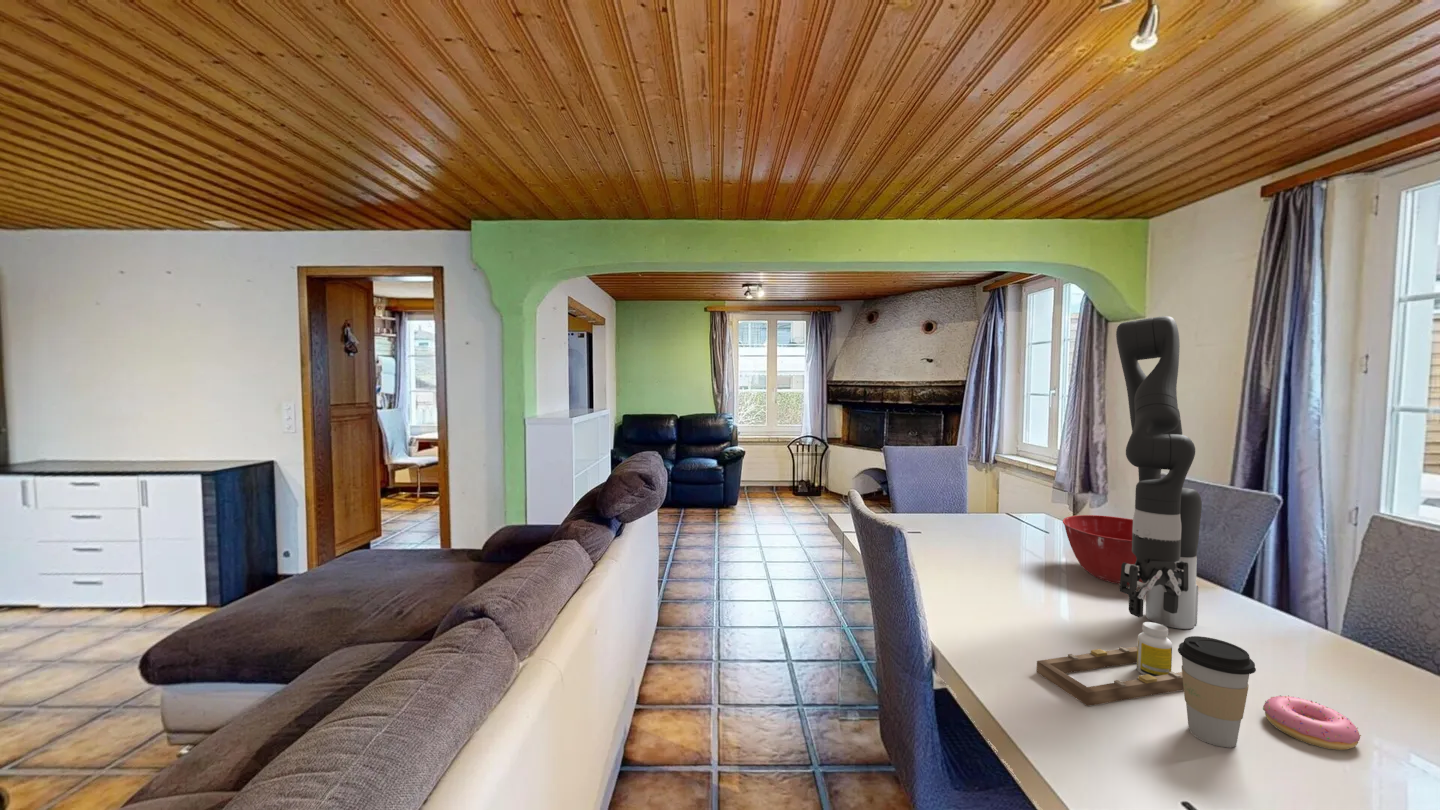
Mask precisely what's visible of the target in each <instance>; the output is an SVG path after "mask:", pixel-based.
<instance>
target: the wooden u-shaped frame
mask: <svg viewBox="0 0 1440 810" xmlns="http://www.w3.org/2000/svg"><path fill="white" fill-rule="evenodd" d="M1131 664H1137V646H1130V647H1123V646H1119V647H1118V648H1117V649H1112V650H1103V649H1101V648H1097V649H1090V653H1083V654H1076V655H1075V654H1072V653H1069V654H1067V656H1062V657H1054V658H1047V659H1046V658H1045V659H1040V660H1036V674H1038V675H1039V676H1040V677H1042V678H1044V679H1045V680H1046V681H1049V682H1050V683H1051V684H1053V685H1054V686H1056V687H1057V688H1058V689H1061V690H1063V692H1065V693H1067V694H1069V696H1072V697H1073V698H1074V699H1076V700H1077V701H1079V702H1080V703H1082V704H1083V705H1085V706H1086V707H1091V706H1097V705H1098V706H1099V705H1102V704H1109V703H1115V702H1121V701H1126V700H1132V699H1139V698H1144V697H1151V696H1155V695H1162V694H1168V693H1169V694H1170V693H1174V692H1179V691H1184V688H1183V677H1182V671H1179V672H1173V671H1172V670H1171V672H1168V674H1166V675H1160V676H1154V677H1153V676H1151V675H1149V674H1146V675H1143V674H1141V675H1138V676H1137V679H1131V680H1122V681H1119V679H1116V680H1115V679H1114V680H1113V682H1112V683H1111V682H1110V683H1105V684H1099V685H1093V686H1087V685H1085V684H1083V683H1082V682H1080V681H1078V680H1077V679H1075V678H1073V677H1072V676H1070V675H1068V674H1072V673H1077V672H1085V671H1091V670H1096V669H1103V668H1104V669H1105V668H1110V667H1117V666H1123V665H1131Z"/></svg>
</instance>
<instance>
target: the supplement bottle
mask: <svg viewBox="0 0 1440 810" xmlns="http://www.w3.org/2000/svg"><path fill="white" fill-rule="evenodd" d="M1168 637H1169V627H1168V626H1164V625H1161V624H1158V623H1155V622H1153V621H1152V622H1150V621H1145V622H1142V632H1140V633H1139V634H1138V635H1137V646H1136V647H1137V663H1136V671H1138V673H1140V674H1141V675H1146V674H1149V675H1151V676H1153V677H1154V676H1160V675H1166V674H1168V672H1171V671H1172V664H1173V663H1172V661H1173V660H1172V658H1173V643H1172V641H1171V640H1170V639H1169V638H1168Z"/></svg>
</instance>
